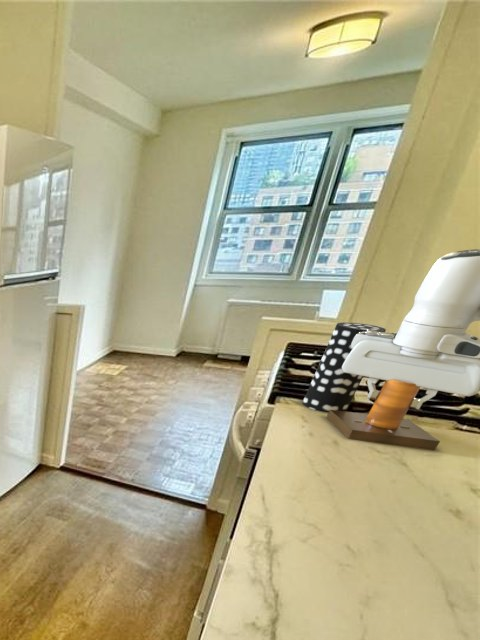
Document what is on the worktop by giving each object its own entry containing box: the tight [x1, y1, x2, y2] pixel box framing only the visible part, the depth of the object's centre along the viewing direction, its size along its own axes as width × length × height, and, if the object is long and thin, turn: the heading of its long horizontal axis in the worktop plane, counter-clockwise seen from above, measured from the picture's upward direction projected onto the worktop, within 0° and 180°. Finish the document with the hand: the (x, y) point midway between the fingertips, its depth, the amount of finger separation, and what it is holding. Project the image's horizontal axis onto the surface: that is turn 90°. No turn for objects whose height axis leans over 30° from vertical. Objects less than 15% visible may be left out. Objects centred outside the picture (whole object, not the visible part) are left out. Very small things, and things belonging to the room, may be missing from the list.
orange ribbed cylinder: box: [365, 379, 421, 429], centre depth 101 cm, size 5×5×10 cm
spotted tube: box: [302, 322, 387, 414], centre depth 113 cm, size 8×8×20 cm
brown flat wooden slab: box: [326, 410, 441, 451], centre depth 104 cm, size 14×12×3 cm
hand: (392, 403), depth 101 cm, fingers closed on orange ribbed cylinder, 5 cm apart
